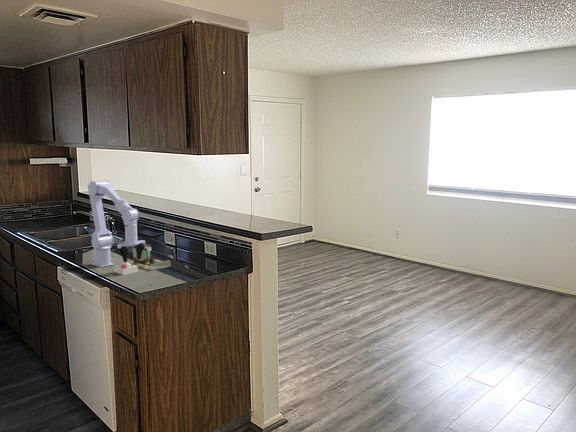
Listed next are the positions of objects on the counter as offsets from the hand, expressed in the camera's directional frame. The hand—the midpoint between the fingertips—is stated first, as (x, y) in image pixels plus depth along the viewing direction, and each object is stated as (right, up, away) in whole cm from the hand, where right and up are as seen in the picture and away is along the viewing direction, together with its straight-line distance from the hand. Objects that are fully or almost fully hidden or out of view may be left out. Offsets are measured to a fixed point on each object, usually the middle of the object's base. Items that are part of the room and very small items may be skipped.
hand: (132, 260), depth 240 cm
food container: (+2, -4, +15) cm, 16 cm away
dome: (-2, -5, -2) cm, 6 cm away
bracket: (+7, -4, +11) cm, 14 cm away
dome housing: (-2, -6, -2) cm, 6 cm away
